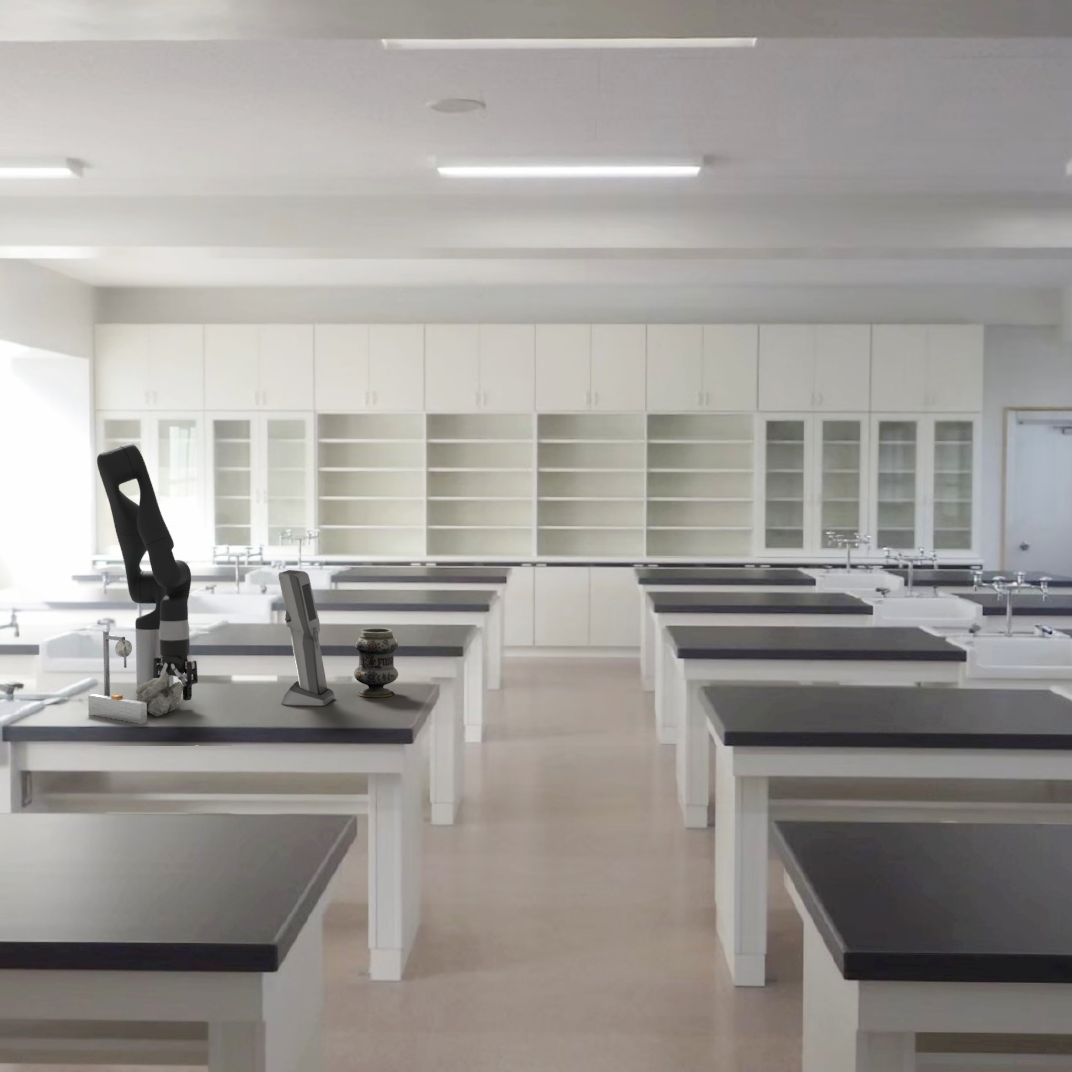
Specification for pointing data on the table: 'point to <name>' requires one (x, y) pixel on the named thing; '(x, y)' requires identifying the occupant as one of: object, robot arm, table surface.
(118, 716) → the rail
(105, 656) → the dial indicator stand
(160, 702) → the mineral
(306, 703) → the thermal camera
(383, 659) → the apothecary jar
